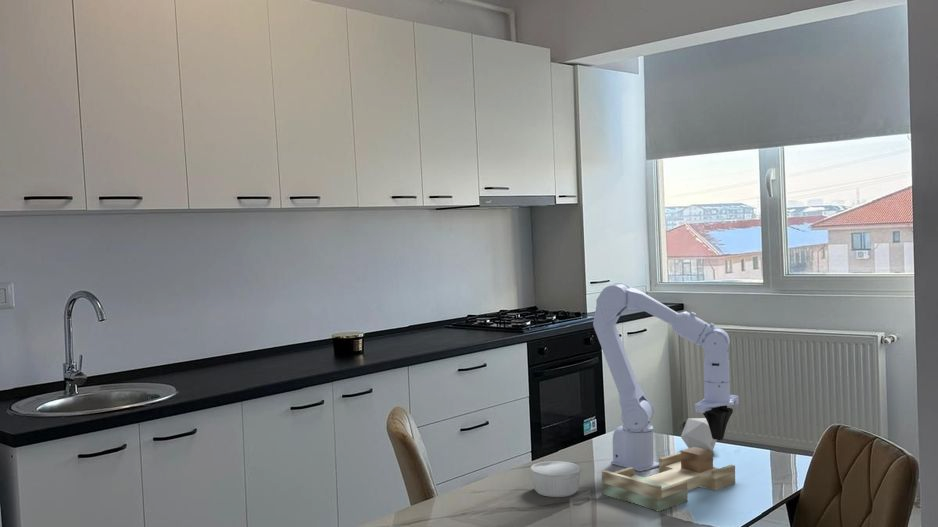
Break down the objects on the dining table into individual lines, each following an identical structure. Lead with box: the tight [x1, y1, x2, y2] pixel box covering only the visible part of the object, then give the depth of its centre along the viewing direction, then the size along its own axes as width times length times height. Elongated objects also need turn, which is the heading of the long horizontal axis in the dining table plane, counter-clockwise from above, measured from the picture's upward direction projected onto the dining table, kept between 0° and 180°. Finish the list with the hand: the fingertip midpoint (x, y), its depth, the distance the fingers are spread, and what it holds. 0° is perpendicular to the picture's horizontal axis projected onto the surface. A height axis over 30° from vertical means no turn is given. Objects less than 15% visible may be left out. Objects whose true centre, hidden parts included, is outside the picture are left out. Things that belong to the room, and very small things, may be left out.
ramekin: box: [529, 460, 582, 498], centre depth 180 cm, size 11×11×5 cm
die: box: [680, 417, 718, 452], centre depth 210 cm, size 8×9×10 cm
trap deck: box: [601, 452, 736, 512], centre depth 179 cm, size 15×27×5 cm, turn 129°
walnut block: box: [680, 447, 714, 473], centre depth 186 cm, size 5×5×4 cm
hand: (717, 439), depth 191 cm, fingers closed
